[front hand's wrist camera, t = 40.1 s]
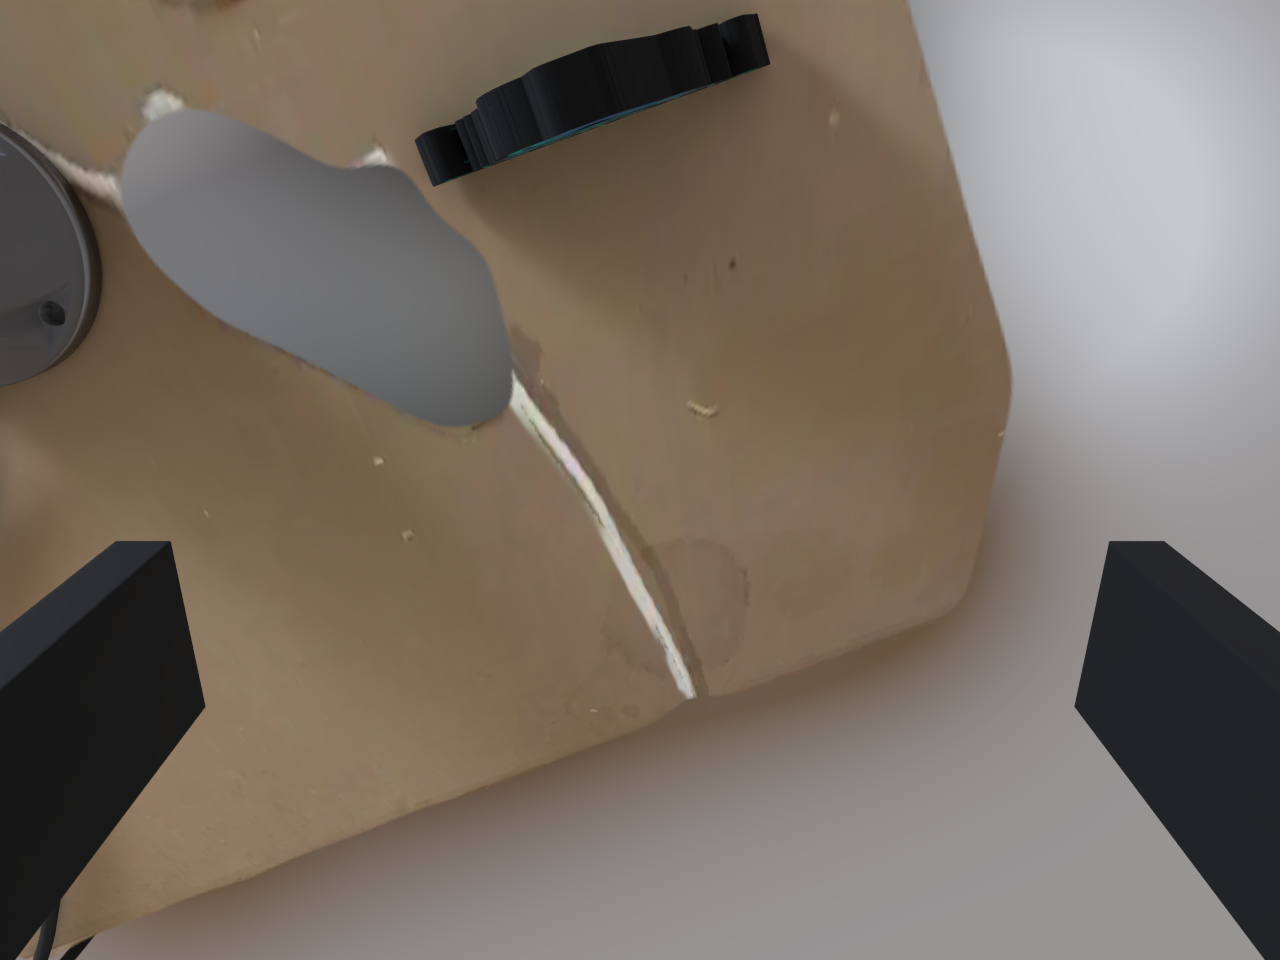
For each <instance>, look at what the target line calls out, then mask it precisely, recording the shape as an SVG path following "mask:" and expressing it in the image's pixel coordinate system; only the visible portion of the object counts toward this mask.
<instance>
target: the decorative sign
mask: <svg viewBox="0 0 1280 960" xmlns="http://www.w3.org/2000/svg"><path fill="white" fill-rule="evenodd" d="M769 64H770V61H769V57H768V53H767V49H766V46H765V42H764V38H763V34H762V30H761V26H760V22H759V18H758V15H757V14H748V15H741V16H738V17H735V18H732V19H730V20H727V21H725V22H723V23H721V24H719V25H718V23H715V24H712V25H709V26H706V27H703V28H701V29H698V30H696V29H695V30H692V28H691V27H690V26H687V27H682V28H678V29H674V30H671V31H667V32H664V33H661V34H657V35H653V36H647V37H641V38H634V39H628V40H621V41H615V42H608V43H601V44H597V45H593V46H590V47H587V48H585V49H582V50H579V51H577V52H574V53H571V54H569V55H566V56H563V57H561V58H558V59H555V60H553V61H550V62H547V63H545V64H542V65H540V66H537V67H535V68H533V69H532V70H530V71H529V72H528V73H526V74H525V75H523V76H522V77H520V78H518V79H515V80H513V81H510V82H508V83H506V84H503V85H501V86H499V87H497V88H495V89H493V90H491V91H489V92H487V93H485V94H484V95H482V96H481V97H479V98H478V99H477V100H476V104H477V107H478V108H477V109H476V110H475V111H473V112H471V114H469V115H467V116H465V117H463V119H460V120H458V121H456V122H455V124H452V125H448V126H443V127H439V128H436V129H433V130H430V131H428V132H425V133H423V134H421V135H420V136H419V137H418V138H417V139H416V140H415V143H416V145H417V148H418V150H419V153H420V155H421V158H422V160H423V163H424V165H425V168H426V170H427V173H428V175H429V178H430V180H431V183H432V185H433V187H434V186H437V185H439V184H442V183H445V182H448V181H450V180H453V179H456V178H458V177H461V176H464V175H467V174H470V173H472V172H475V171H478V170H481V169H483V168H486V167H489V166H492V165H494V164H497V163H500V162H503V161H505V160H508V159H511V158H514V157H516V156H519V155H522V154H525V153H528V152H530V151H533V150H536V149H539V148H541V147H544V146H547V145H550V144H552V143H555V142H557V141H560V140H563V139H566V138H569V137H572V136H574V135H577V134H580V133H582V132H585V131H588V130H591V129H594V128H596V127H599V126H602V125H605V124H607V123H610V122H613V121H616V120H618V119H621V118H624V117H627V116H629V115H632V114H634V113H638V112H640V111H643V110H646V109H649V108H651V107H654V106H657V105H660V104H662V103H665V102H668V101H671V100H674V99H676V98H679V97H682V96H684V95H687V94H690V93H693V92H696V91H698V90H701V89H704V88H707V87H709V86H712V85H715V84H718V83H720V82H723V81H726V80H729V79H731V78H734V77H737V76H739V75H742V74H745V73H748V72H751V71H753V70H756V69H759V68H762V67H764V66H767V65H769Z"/></svg>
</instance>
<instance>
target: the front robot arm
mask: <svg viewBox="0 0 1280 960" xmlns="http://www.w3.org/2000/svg"><path fill="white" fill-rule="evenodd" d="M101 279H102V276H101V262H100V256H99V250H98V246H97V242H96V238H95V235H94V232H93V229H92V227H91V224H90V221H89V219H88V217H87V215H86V212H85V210H84V208H83V206H82V205H81V203H80V201H79V199H78V197H77V196H76V194H75V193H74V191H73V190H72V188H71V187H70V185H69V184H68V182H67V181H66V180H65V178H64V177H63V176H62V175H61V173H60V172H59V171H58V170H57V168H56V167H55V166H54V165H53V164H52V163H51V162H50V161H49V160H48V159H47V158H46V157H45V156H44V155H43V154H42V153H41V152H40V151H39V150H38V149H37V148H36V147H34V146H33V145H32V144H31V143H29V142H28V141H27V140H26V139H24V138H23V137H22V136H20V135H19V134H17V133H16V132H14V131H13V130H11V129H10V128H8V127H6V126H4V125H3V124H1V123H0V386H6V385H10V384H14V383H17V382H20V381H23V380H25V379H28V378H30V377H33V376H35V375H38V374H40V373H43V372H45V371H47V370H49V369H51V368H53V367H55V366H56V365H58V364H59V363H61V362H62V361H64V360H65V359H66V358H67V357H68V356H69V355H71V354H72V353H73V352H74V351H75V350H76V348H77V347H78V346H79V345H80V344H81V342H82V341H83V340H84V338H85V337H86V335H87V333H88V332H89V330H90V328H91V326H92V324H93V321H94V318H95V316H96V313H97V309H98V305H99V301H100V294H101ZM204 708H205V702H204V697H203V692H202V688H201V683H200V678H199V674H198V669H197V664H196V659H195V655H194V650H193V645H192V640H191V636H190V631H189V626H188V621H187V617H186V612H185V607H184V602H183V598H182V593H181V588H180V583H179V579H178V574H177V569H176V564H175V560H174V555H173V550H172V545H171V541H116V542H114V543H113V544H112V545H110V546H109V547H108V548H107V549H105V550H104V551H103V552H102V553H100V554H99V555H98V556H96V557H95V558H94V559H93V560H91V561H90V562H89V563H88V564H86V565H85V566H84V567H82V568H81V569H80V570H79V571H77V572H76V573H75V574H74V575H72V576H71V577H70V578H69V579H67V580H66V581H65V582H63V583H62V584H61V585H60V586H58V587H57V588H56V589H55V590H53V591H52V592H51V593H49V594H48V595H47V596H46V597H44V598H43V599H42V600H41V601H39V602H38V603H37V604H35V605H34V606H33V607H32V608H30V609H29V610H28V611H27V612H25V613H24V614H23V615H22V616H20V617H19V618H18V619H16V620H15V621H14V622H13V623H11V624H10V625H9V626H8V627H6V628H5V629H4V630H2V631H1V632H0V960H15V959H16V958H17V957H18V955H19V954H20V953H21V951H22V950H23V949H24V947H25V946H26V945H27V943H28V942H29V941H30V939H31V938H32V937H33V935H34V934H35V933H36V931H37V930H38V929H39V927H40V926H41V925H42V926H41V933H40V937H39V941H38V945H37V948H36V952H35V955H34V958H33V960H48V958H49V955H50V951H51V948H52V945H53V941H54V937H55V931H56V925H57V918H58V912H59V906H60V900H61V898H62V897H63V896H64V894H65V893H66V892H67V890H68V889H69V888H70V886H71V885H72V884H73V882H74V881H75V880H76V878H77V877H78V876H79V874H80V873H81V872H82V870H83V869H84V868H85V866H86V865H87V864H88V862H89V861H90V860H91V858H92V857H93V856H94V854H95V853H96V852H97V850H98V849H99V848H100V846H101V845H102V844H103V842H104V841H105V840H106V838H107V837H108V836H109V834H110V833H111V832H112V830H113V829H114V828H115V826H116V825H117V824H118V822H119V821H120V820H121V818H122V817H123V816H124V814H125V813H126V812H127V810H128V809H129V808H130V806H131V805H132V804H133V802H134V801H135V800H136V798H137V797H138V796H139V794H140V793H141V792H142V790H143V789H144V788H145V786H146V785H147V784H148V782H149V781H150V780H151V778H152V777H153V776H154V774H155V773H156V772H157V770H158V769H159V768H160V766H161V765H162V764H163V763H164V761H165V760H166V759H167V757H168V756H169V755H170V753H171V752H172V751H173V749H174V748H175V747H176V745H177V744H178V743H179V741H180V740H181V739H182V737H183V736H184V735H185V733H186V732H187V731H188V729H189V728H190V727H191V725H192V724H193V723H194V721H195V720H196V719H197V717H198V716H199V715H200V713H201V712H202V711H203V709H204ZM1075 708H1076V709H1077V711H1078V712H1079V713H1080V715H1081V716H1082V717H1083V719H1084V720H1085V721H1086V723H1087V724H1088V725H1089V727H1090V728H1091V729H1092V731H1093V732H1094V733H1095V735H1096V736H1097V737H1098V739H1099V740H1100V741H1101V742H1102V744H1103V745H1104V747H1105V748H1106V749H1107V751H1108V752H1109V753H1110V755H1111V756H1112V757H1113V759H1114V760H1115V761H1116V762H1117V764H1118V765H1119V766H1120V768H1121V769H1122V770H1123V772H1124V773H1125V774H1126V776H1127V777H1128V778H1129V780H1130V781H1131V782H1132V784H1133V785H1134V786H1135V788H1136V789H1137V790H1138V792H1139V793H1140V794H1141V796H1142V797H1143V798H1144V800H1145V801H1146V802H1147V804H1148V805H1149V806H1150V808H1151V809H1152V810H1153V812H1154V813H1155V814H1156V816H1157V817H1158V818H1159V820H1160V821H1161V822H1162V824H1163V825H1164V826H1165V828H1166V829H1167V830H1168V832H1169V833H1170V834H1171V836H1172V837H1173V838H1174V840H1175V841H1176V842H1177V844H1178V845H1179V846H1180V848H1181V849H1182V850H1183V852H1184V853H1185V854H1186V856H1187V857H1188V858H1189V860H1190V861H1191V862H1192V864H1193V865H1194V866H1195V868H1196V869H1197V870H1198V872H1199V873H1200V874H1201V876H1202V877H1203V878H1204V880H1205V881H1206V882H1207V884H1208V885H1209V886H1210V887H1211V889H1212V890H1213V892H1214V893H1215V894H1216V896H1217V897H1218V898H1219V900H1220V901H1221V902H1222V904H1223V905H1224V906H1225V907H1226V909H1227V910H1228V911H1229V913H1230V914H1231V915H1232V917H1233V918H1234V919H1235V921H1236V922H1237V923H1238V925H1239V926H1240V927H1241V929H1242V930H1243V931H1244V933H1245V934H1246V935H1247V937H1248V938H1249V939H1250V941H1251V942H1252V943H1253V945H1254V946H1255V947H1256V949H1257V950H1258V951H1259V953H1260V954H1261V955H1262V957H1263V958H1264V959H1265V960H1280V632H1279V631H1278V630H1276V629H1275V628H1274V627H1272V626H1271V625H1270V624H1269V623H1267V622H1266V621H1265V620H1264V619H1262V618H1261V617H1260V616H1258V615H1257V614H1256V613H1255V612H1253V611H1252V610H1251V609H1250V608H1248V607H1247V606H1246V605H1244V604H1243V603H1242V602H1241V601H1239V600H1238V599H1237V598H1236V597H1234V596H1233V595H1232V594H1231V593H1229V592H1228V591H1227V590H1225V589H1224V588H1223V587H1222V586H1220V585H1219V584H1218V583H1217V582H1215V581H1214V580H1213V579H1211V578H1210V577H1209V576H1208V575H1206V574H1205V573H1204V572H1203V571H1201V570H1200V569H1199V568H1198V567H1196V566H1195V565H1194V564H1192V563H1191V562H1190V561H1189V560H1187V559H1186V558H1185V557H1183V556H1182V555H1181V554H1180V553H1178V552H1177V551H1176V550H1175V549H1173V548H1172V547H1171V546H1170V545H1168V544H1167V543H1166V542H1164V541H1109V545H1108V550H1107V555H1106V560H1105V564H1104V569H1103V574H1102V579H1101V583H1100V588H1099V593H1098V598H1097V603H1096V607H1095V612H1094V617H1093V622H1092V626H1091V631H1090V636H1089V640H1088V645H1087V650H1086V655H1085V659H1084V664H1083V669H1082V674H1081V678H1080V683H1079V688H1078V692H1077V697H1076V702H1075ZM95 935H96V934H95ZM95 935H93V936H91V937H89V938H87V939H84V940H82V941H81V942H79V943H77V944H75V945H73V946H72V947H70V948H69V949H68V951H67V952H66V953H65V954H64V955H63V956H62V958H61V959H60V960H76V958H77V957H78V956H79V955H80V954H81V952H82V951H83V950H84V949H85V947H86V946H87V945H88V944H89V943H90V941H91V940H92V939H93V938H94V936H95Z"/></svg>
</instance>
